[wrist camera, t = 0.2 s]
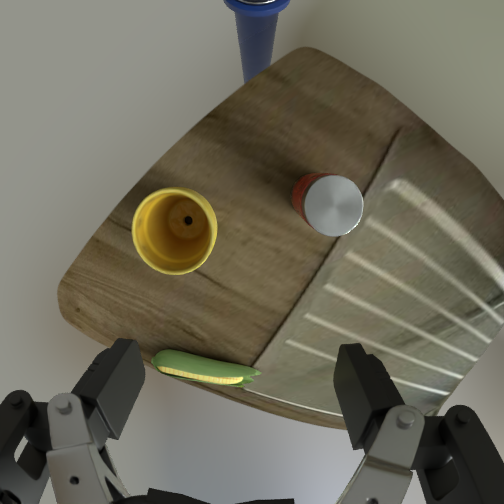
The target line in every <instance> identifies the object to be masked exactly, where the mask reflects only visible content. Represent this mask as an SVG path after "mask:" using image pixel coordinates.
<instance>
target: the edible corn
mask: <svg viewBox="0 0 504 504" xmlns="http://www.w3.org/2000/svg"><path fill="white" fill-rule="evenodd" d="M151 363H152V364H153V365H154V367H155V368H156V370H157V371H159V372H160V373H162V374H165V375H167V376H171V377H176V378H181V379H187V380H193V381H200V382H206V383H213V384H221V385H228V386H236V387H245V386H244V385H242V384H244V383H250V382H252V381H254V380H253V379H252V378H251V377H249V376H255V375H259V374H262V373H261V372H259V371H258V370H255V369H254V368H251V367H249V366H243V365H239V364H233V363H227V362H222V361H217V360H213V359H209V358H206V357H202V356H198V355H194V354H190V353H186V352H182V351H177V350H172V349H166V350H162V351H160V352H158V353H157V354H156V356H155V357H152V360H151Z"/></svg>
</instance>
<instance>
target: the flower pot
mask: <svg viewBox="0 0 504 504" xmlns="http://www.w3.org/2000/svg"><path fill="white" fill-rule="evenodd" d="M187 216H190V217H191V218H192V223H191V224H186V223H185V217H187ZM216 236H217V221H216V216H215V213H214V211H213V209H212V207H211V205H210V204H209V203H208V201H207V200H206V199H205V198H204V197H203V196H202V195H200V194H199V193H197V192H196V191H194V190H191V189H188V188H185V187H168V188H163V189H160V190H157V191H155V192H153V193H151V194H150V195H148V196H147V197H146V198H144V199H143V200H142V202H141V203H140V204H139V206H138V207H137V209H136V211H135V213H134V216H133V220H132V239H133V243H134V246H135V248H136V250H137V252H138V254H139V255H140V257H141V258H142V259H143V260H144V262H145V263H147V264H148V265H149V266H150V267H151V268H153V269H155V270H157V271H159V272H162V273H165V274H170V275H180V274H185V273H188V272H191V271H193V270H195V269H197V268H198V267H199V266H201V265H202V264H203V263H204V262H205V260H206V259H207V258H208V256H209V254H210V253H211V251H212V249H213V246H214V243H215V240H216Z"/></svg>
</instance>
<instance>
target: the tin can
mask: <svg viewBox="0 0 504 504" xmlns="http://www.w3.org/2000/svg"><path fill="white" fill-rule="evenodd" d="M291 202H292V205H293V207H294V209H295V210H296V212H297V213H298V214H299V215H300V216H301V217H302V218H303V219H304V220H305V221H306V222H307V223H308V224H309V225H310V226H311V227H312V228H314V229H315V230H316V231H318V232H319V233H321V234H323V235H326V236H341V235H344V234H346V233H348V232H349V231H351V230H352V229H353V228H354V227H355V226H356V225H357V224H358V222H359V220H360V218H361V216H362V212H363V199H362V195H361V193H360V190H359V189H358V187H357V186H356V185H355V184H354V183H353V182H352V181H351V180H350V179H348V178H346V177H343V176H340V175H336V174H328V173H311V174H306V175H304V176H302V177H300V178H299V179H298V180H297V181H296V182H295V183H294V185H293V187H292V190H291Z"/></svg>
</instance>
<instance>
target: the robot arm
mask: <svg viewBox="0 0 504 504" xmlns="http://www.w3.org/2000/svg"><path fill="white" fill-rule="evenodd" d="M236 1H238V2H240V3H243V4H246V5H251V6H264V5H269V4H272V3H274V2H276V1H278V0H236ZM144 380H145V368H144V364H143V360H142V357H141V353H140V349H139V345H138V342H137V341H136V340H132V339H123V338H118V339H117V340H116V341H115V343H114V344H113V345H112V347H111V348H107V349H105V350H104V351H102V352H101V353H99V354H98V355H97V356H96V358H95V359H94V361H93V362H92V364H91V365H90V366H89V367H88V370H86V372H85V373H84V374H83V376H82V377H81V378H80V380H79V381H78V383H77V384H76V386H75V387H74V388H73V390H72V391H71V393H61V394H58V395H56V396H54V397H53V398H52V399H51V400H50V401H49V403H48V402H47V403H46V402H34V401H33V399H32V398H31V396H30V394H29V393H28V392H26V391H24V390H16V391H13V392H11V393H10V394H8V395H7V397H6V398H5V399H4V401H3V402H2V403H1V404H0V504H39V501H40V499H41V496H42V494H43V491H44V489H45V486H46V483H47V481H48V479H49V477H51V481H52V486H53V489H54V493H55V497H56V501H57V504H210V503H207V502H203V501H200V500H197V499H194V498H192V497H189V496H186V495H183V494H178V493H172V492H167V491H162V490H157V489H152V488H149V490H148V493H147V495H137V496H130V494H129V493H128V491H127V489H126V488H125V487H124V485H123V483H122V481H121V479H120V477H119V475H118V473H117V470H116V468H115V465H114V463H113V460H112V458H111V455H110V453H109V450H108V447H107V445H106V444H105V442H106V440H107V438H112V439H116V440H118V439H119V437H120V435H121V433H122V430H123V428H124V425H125V423H126V421H127V419H128V416H129V414H130V412H131V410H132V408H133V405H134V403H135V401H136V399H137V397H138V394H139V392H140V390H141V388H142V386H143V384H144ZM333 381H334V388H335V392H336V395H337V398H338V401H339V404H340V407H341V411H342V414H343V417H344V420H345V424H346V427H347V430H348V433H349V437H350V440H351V444H352V447H353V450H358V449H364V452H365V455H364V457H363V459H362V461H361V463H360V464H359V466H358V468H357V470H356V472H355V473H354V475H353V477H352V478H351V480H350V482H349V483H348V485H347V486H346V488H345V490H344V491H343V493H342V494H341V496H340V497H339V499H338V500H337V501H336V503H335V504H401V503H402V501H403V499H404V496H405V494H406V492H407V489H408V487H409V484H410V482H411V479H412V475H413V472H412V471H410V470H416V472H417V475H418V478H419V481H420V484H421V487H422V490H423V494H424V497H425V500H426V504H504V463H503V461H502V459H501V457H500V455H499V453H498V451H497V449H496V447H495V445H494V444H493V442H492V440H491V438H490V436H489V435H488V433H487V431H486V430H485V428H484V426H483V424H482V423H481V421H480V419H479V418H478V416H477V414H476V413H475V412H474V411H473V410H472V409H471V408H469V407H467V406H464V405H455V406H453V407H451V408H450V409H449V410H448V411H447V413H446V414H445V416H423V414H422V413H421V412H420V411H419V410H418V409H417V408H415V407H413V406H409V405H405V403H404V401H403V399H402V397H401V395H400V394H399V392H398V390H397V388H396V386H395V385H394V383H393V381H392V379H390V376H389V374H388V372H386V369H385V367H384V365H383V363H382V362H381V361H380V360H379V359H378V358H377V357H375V356H374V355H373V354H369V355H367V354H366V353H365V351H364V349H363V347H362V345H361V344H360V343H354V344H342V345H341V346H340V348H339V353H338V357H337V362H336V367H335V371H334V379H333ZM23 436H25V438H26V439H27V440H28V443H27V444H26V446H25V448H24V450H23V452H22V453H21V455H20V457H19V459H18V461H17V463H16V461H15V458H14V453H15V450H16V448H17V446H18V445H19V443H20V441H21V440H22V438H23ZM237 504H294V499H274V500H254V501H249V502H243V503H237Z"/></svg>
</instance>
